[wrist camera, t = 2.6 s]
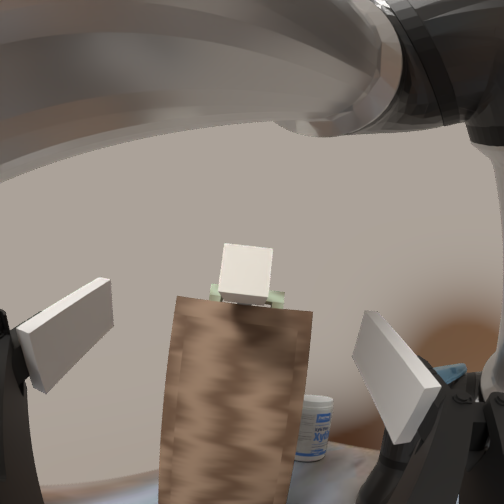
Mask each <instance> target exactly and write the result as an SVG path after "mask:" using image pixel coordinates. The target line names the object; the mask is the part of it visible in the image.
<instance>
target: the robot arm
mask: <svg viewBox="0 0 504 504" xmlns="http://www.w3.org/2000/svg"><path fill="white" fill-rule="evenodd" d="M266 121H273V122H275V123H276V124H278V125H279V126H281V127H283V128H285V129H287V130H289V131H292V132H294V133H297V134H301V135H305V136H311V137H335V136H341V135H356V134H375V133H396V132H408V131H409V132H410V131H419V130H426V129H432V128H437V127H440V126H448V125H452V124H456V123H462V122H465V124H466V127H467V130H468V134H469V137H470V141H471V144H472V145H473V146H474V147H476V148H477V149H478V150H479V151H481V152H482V153H483V154H484V155H486V156H487V157H488V158H490V159H491V162H492V164H493V167H494V172H495V178H496V183H497V189H498V197H499V204H500V213H501V224H502V238H503V298H502V310H501V321H500V329H499V337H498V344H497V350H496V352H495V353H494V354H493V355H492V356H491V357H490V358H489V360H488V361H487V362H486V364H485V367H484V369H483V371H482V372H472V373H466V371H467V368H466V365H465V364H463V363H462V364H454V365H447V366H442V367H435V368H433V367H432V366H431V365H430V364H429V363H428V361H426V360H425V359H423V358H422V357H420V356H416V355H415V354H414V352H413V351H412V350H411V349H410V348H409V346H408V345H407V344H406V343H405V342H404V341H403V339H402V338H401V337H400V336H399V335H398V334H397V333H396V331H395V330H394V329H393V328H392V327H391V326H390V324H389V323H388V322H387V321H386V320H385V319H384V318H383V317H382V315H381V314H380V313H379V312H378V311H365V312H364V316H363V320H362V323H361V327H360V331H359V334H358V338H357V342H356V345H355V349H354V351H353V355H352V358H353V360H354V362H355V364H356V366H357V368H358V370H359V372H360V374H361V376H362V378H363V380H364V382H365V384H366V386H367V388H368V390H369V392H370V395H371V397H372V399H373V401H374V403H375V405H376V407H377V409H378V412H379V414H380V416H381V418H382V420H383V422H384V424H385V430H384V435H383V441H382V446H381V451H380V455H379V459H378V462H377V464H376V466H375V467H374V469H373V470H372V472H371V473H370V475H369V476H368V478H367V480H366V481H365V483H364V484H363V485H362V487H361V488H360V490H359V494H358V497H357V500H356V504H456V501H457V498H458V494H459V504H504V0H0V183H2V182H4V181H7V180H9V179H12V178H14V177H16V176H19V175H21V174H24V173H27V172H29V171H32V170H34V169H37V168H40V167H43V166H46V165H48V164H52V163H54V162H57V161H60V160H63V159H67V158H70V157H73V156H76V155H80V154H83V153H87V152H90V151H94V150H97V149H101V148H105V147H109V146H113V145H117V144H121V143H124V142H129V141H134V140H138V139H143V138H147V137H153V136H157V135H163V134H168V133H174V132H180V131H186V130H193V129H199V128H207V127H214V126H223V125H231V124H241V123H252V122H266ZM113 326H114V324H113V310H112V294H111V279H106V278H101V277H99V278H97V279H95V280H94V281H92V282H90V283H88V284H87V285H85V286H83V287H81V288H80V289H78V290H76V291H75V292H73V293H71V294H70V295H68V296H66V297H65V298H63V299H61V300H60V301H58V302H56V303H55V304H53V305H51V306H50V307H48V308H47V309H45V310H43V311H40V312H38V313H37V314H35V315H34V316H33V317H31V318H29V319H28V320H27V321H24V322H23V323H21V324H19V325H18V326H16V327H15V328H13V329H12V330H9V325H8V321H7V316H6V312H5V311H4V310H2V309H0V504H44V502H43V498H42V494H41V490H40V486H39V482H38V477H37V473H36V468H35V463H34V457H33V451H32V444H31V437H30V428H29V417H28V403H27V386H26V383H25V379H27V377H29V376H30V379H31V382H32V385H33V388H35V389H37V390H39V391H41V392H43V393H45V394H47V393H48V392H49V391H50V390H51V389H52V388H53V387H54V386H55V384H56V383H57V382H58V381H59V380H60V379H61V378H62V377H63V376H64V375H65V374H66V373H67V372H68V371H69V370H70V369H71V368H72V367H73V366H74V365H75V364H76V363H77V362H78V361H79V360H80V359H81V358H82V357H83V356H84V355H85V354H86V353H87V352H88V351H89V350H90V349H91V348H92V347H93V346H94V345H95V344H96V343H97V342H98V341H99V340H100V339H101V338H102V337H103V336H104V335H105V334H106V333H107V332H108V331H109V330H110V329H111V328H112V327H113Z"/></svg>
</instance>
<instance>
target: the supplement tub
mask: <svg viewBox="0 0 504 504" xmlns="http://www.w3.org/2000/svg"><path fill="white" fill-rule="evenodd" d="M332 411H333V399H332V398H330V397H325V396H318V395H304V401H303V408H302V416H301V422H300V429H299V435H298V442H297V448H296V454H295V459H294V460H297V461H306V462H309V461H317V460H320V459H322V458H323V457H324V456H325V452H326V448H327V442H328V436H329V430H330V424H331V418H332Z"/></svg>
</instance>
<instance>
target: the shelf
mask: <svg viewBox="0 0 504 504" xmlns="http://www.w3.org/2000/svg"><path fill="white" fill-rule="evenodd" d="M218 286H219V285H217V284H211V290H210V297H209V300H202V299H194V298H188V297H181V296H177V300H176V306H175V312H174V319H173V326H172V333H171V341H170V348H169V356H168V364H167V373H166V382H165V392H164V393H165V394H164V403H163V415H162V429H161V442H160V462H159V493H158V504H286V500H287V496H288V491H289V486H290V481H291V476H292V470H293V465H294V459H295V454H296V448H297V442H298V435H299V429H300V422H301V416H302V408H303V401H304V393H305V385H306V377H307V368H308V359H309V350H310V339H311V328H312V317H313V312H311V311H299V310H288V309H283V304H284V292H279V291H269V294H268V298H267V300H266V302H265V304H269V305H271V307H270V308H267V307H259V306H250V305H241V304H232V303H225V302H222V300H223V298H222V296H221V295H220V294H219V292H218Z"/></svg>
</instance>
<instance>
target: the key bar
mask: <svg viewBox="0 0 504 504" xmlns="http://www.w3.org/2000/svg"><path fill="white" fill-rule="evenodd" d="M272 255H273V249H272V248H263V247H254V246H245V245H236V244H227V243H225V244H224V250H223V257H222V265H221V272H220V279H219V286H218V292H219V294H220V295H221V296H222V298H223V299H224V301H228V302H236V303H237V304H241V305H250V306H251V305H252V304H255V305H264V304H265V302H266V300H267V298H268V294H269V283H270V275H271V264H272Z"/></svg>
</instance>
